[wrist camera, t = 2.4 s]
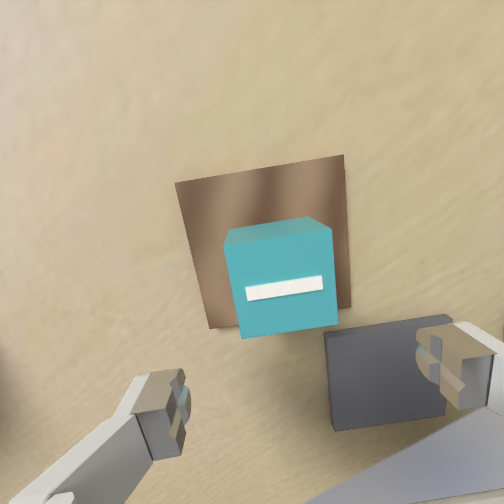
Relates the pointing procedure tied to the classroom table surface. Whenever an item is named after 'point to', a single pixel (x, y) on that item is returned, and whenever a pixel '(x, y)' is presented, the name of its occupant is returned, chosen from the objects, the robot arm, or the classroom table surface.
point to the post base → (261, 220)
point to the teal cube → (282, 276)
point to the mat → (380, 375)
